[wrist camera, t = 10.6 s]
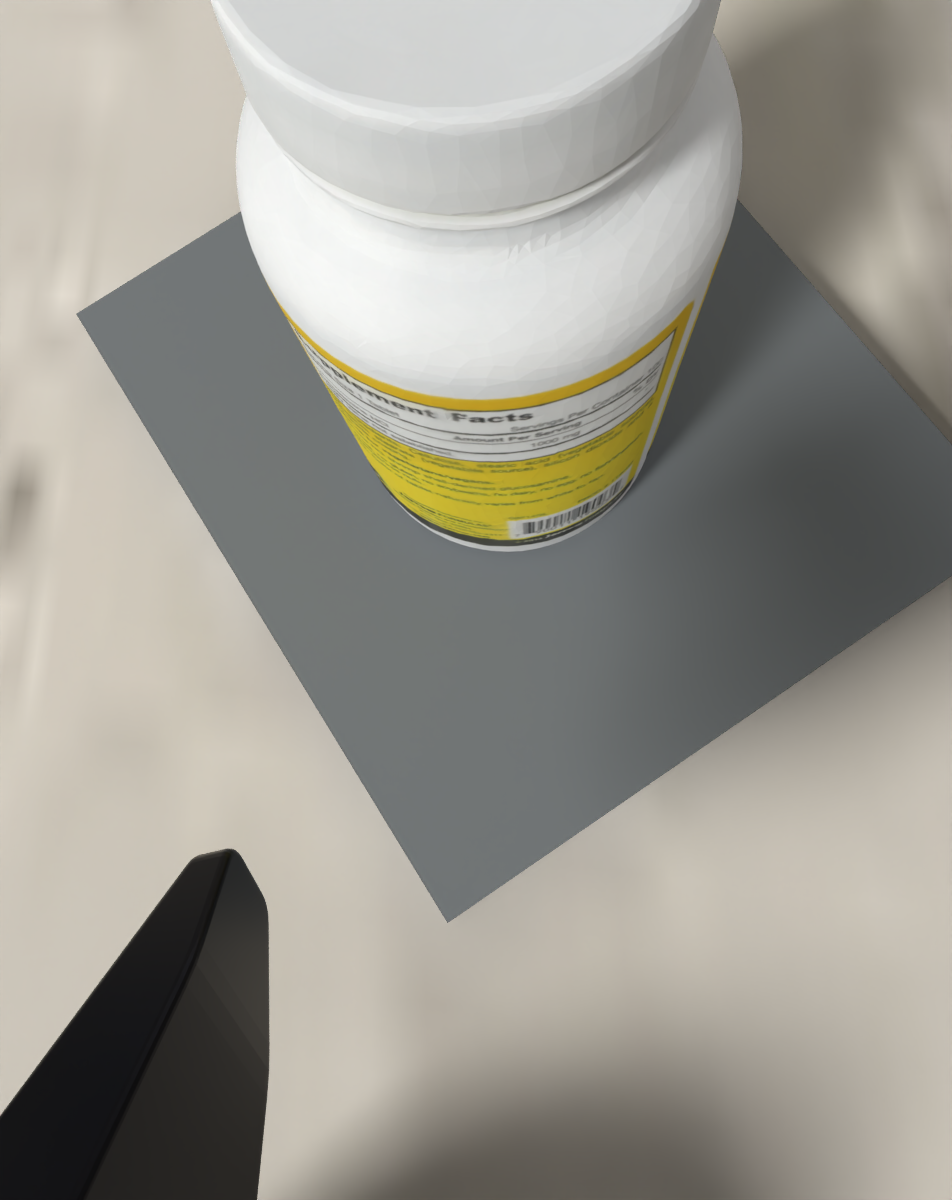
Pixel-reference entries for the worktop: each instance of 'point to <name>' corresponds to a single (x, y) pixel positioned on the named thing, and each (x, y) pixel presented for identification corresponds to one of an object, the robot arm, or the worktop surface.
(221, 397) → the mat
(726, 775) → the worktop surface
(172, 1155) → the robot arm
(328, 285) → the pill bottle
